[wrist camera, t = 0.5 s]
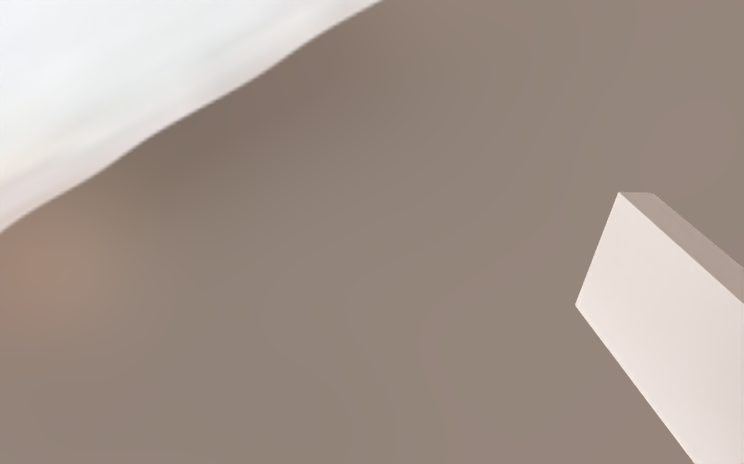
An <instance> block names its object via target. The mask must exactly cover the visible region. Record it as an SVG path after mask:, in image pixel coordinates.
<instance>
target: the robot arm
mask: <svg viewBox="0 0 744 464" xmlns="http://www.w3.org/2000/svg"><path fill="white" fill-rule="evenodd" d="M575 306H576V307H577V308H578V310H579V311H580V312H581V314H582V315H583V316H584V318H585V319H586V320H587V322H588V323H589V324H590V325H591V327H592V328H593V330H594V331H595V332H596V334H597V335H598V336H599V338H600V339H601V340H602V341H603V343H604V344H605V345H606V347H607V348H608V349H609V351H610V352H611V353H612V355H613V356H614V357H615V359H616V360H617V361H618V363H619V364H620V365H621V366H622V368H623V369H624V371H625V372H626V373H627V375H628V376H629V377H630V379H631V380H632V381H633V383H634V384H635V385H636V386H637V388H638V389H639V391H640V392H641V393H642V395H643V396H644V397H645V399H646V400H647V401H648V402H649V404H650V405H651V406H652V408H653V409H654V410H655V412H656V413H657V414H658V416H659V417H660V418H661V420H662V421H663V422H664V424H665V425H666V426H667V428H668V429H669V430H670V432H671V433H672V434H673V436H674V437H675V438H676V440H677V441H678V442H679V443H680V445H681V446H682V447H683V449H684V450H685V452H686V453H687V454H688V455H689V457H690V458H691V459H692V461H693V462H694V463H695V464H744V268H742V267H741V266H740V265H739V264H738V263H737V262H735V261H734V260H733V259H732V258H730V257H729V256H728V255H727V254H726V253H724V252H723V251H722V250H721V249H720V248H718V247H717V246H716V245H715V244H714V243H712V242H711V241H710V240H709V239H708V238H706V237H705V236H704V235H703V234H701V233H700V232H699V231H698V230H696V229H695V228H694V227H693V226H692V225H690V224H689V223H688V222H687V221H686V220H685V219H683V218H682V217H681V216H680V215H679V214H677V213H676V212H675V211H674V210H672V209H671V208H670V207H669V206H668V205H666V204H665V203H664V202H663V201H662V200H660V199H659V198H658V197H657V196H655V195H654V194H653V193H634V192H618V195H617V197H616V200H615V203H614V205H613V208H612V210H611V213H610V216H609V218H608V221H607V223H606V226H605V229H604V232H603V234H602V236H601V239H600V242H599V244H598V247H597V250H596V252H595V255H594V258H593V260H592V263H591V265H590V268H589V270H588V273H587V276H586V278H585V281H584V283H583V286H582V289H581V292H580V294H579V297H578V299H577V302H576V304H575Z"/></svg>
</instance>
